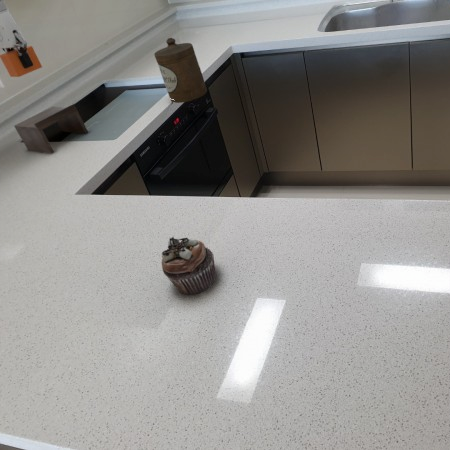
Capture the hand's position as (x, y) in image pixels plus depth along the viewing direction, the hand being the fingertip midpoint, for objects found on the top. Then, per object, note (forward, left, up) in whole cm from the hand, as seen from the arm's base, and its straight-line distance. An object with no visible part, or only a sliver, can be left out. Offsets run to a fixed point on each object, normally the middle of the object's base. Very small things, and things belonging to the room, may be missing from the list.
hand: (23, 66), depth 153 cm
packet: (0, 0, -2) cm, 2 cm away
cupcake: (+103, -45, -27) cm, 115 cm away
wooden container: (+28, +41, -27) cm, 56 cm away
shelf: (+1, -2, -27) cm, 27 cm away
